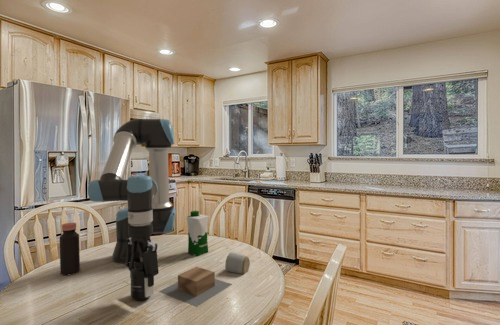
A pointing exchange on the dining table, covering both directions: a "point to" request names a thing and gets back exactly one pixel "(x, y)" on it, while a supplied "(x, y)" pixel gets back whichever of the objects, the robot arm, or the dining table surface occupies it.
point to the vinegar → (69, 250)
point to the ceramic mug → (237, 263)
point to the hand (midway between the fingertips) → (142, 292)
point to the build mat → (193, 299)
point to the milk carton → (197, 233)
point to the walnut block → (196, 281)
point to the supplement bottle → (138, 280)
